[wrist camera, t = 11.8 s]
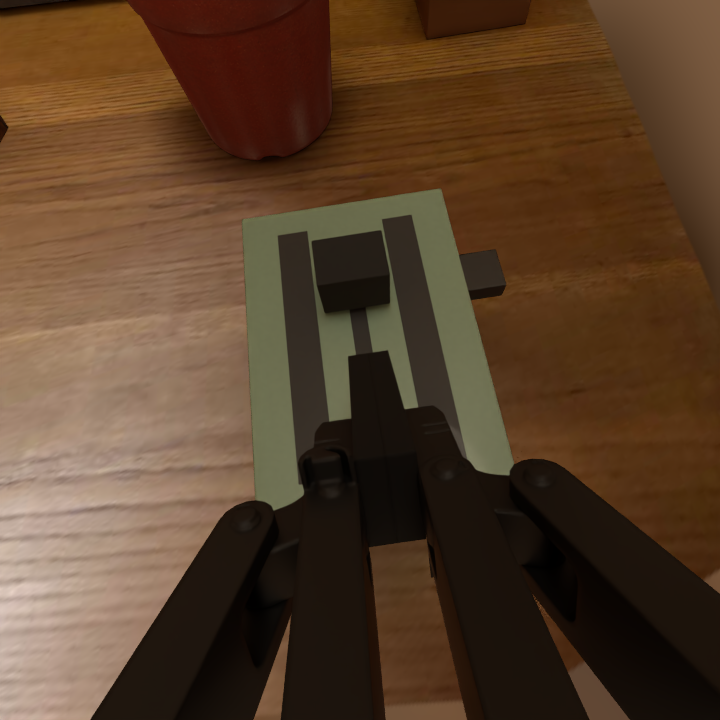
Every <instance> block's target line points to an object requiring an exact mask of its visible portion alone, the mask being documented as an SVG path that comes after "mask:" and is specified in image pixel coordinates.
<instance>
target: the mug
mask: <svg viewBox="0 0 720 720" xmlns="http://www.w3.org/2000/svg"><path fill="white" fill-rule="evenodd" d="M7 128H8V126H7V125H6V123H5V122H4V120H3V119H2V117H1V116H0V141H1V139H2V138H3V136H4V134H5V132H6V130H7Z"/></svg>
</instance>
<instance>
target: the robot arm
mask: <svg viewBox="0 0 720 720" xmlns="http://www.w3.org/2000/svg"><path fill="white" fill-rule="evenodd" d="M348 368H349V386H350V404H351V418H350V419H343V420H336V421H330V422H323V423H322V424H321V425H320V426H319V428H318V429H317V430H316V432H315V438H314V447H313V448H311V449H309V450H307V451H306V452H305V453H304V454H303V455H302V456H301V457H300V459H299V461H298V468H299V472H300V476H301V480H302V485H303V489H304V495H303V496H302V497H301V498H299V499H298V500H296V501H295V502H293V503H291V504H289V505H287V506H284V507H282V508H279V509H276V510H274V511H273V508H272V506H271V505H269V504H268V503H267V502H263V501H258V500H256V501H247V502H244V503H241V504H239V505H236V506H235V507H233V508H231V509H230V510H228V511H227V512H226V513H225V514H224V515H223V516H222V517H221V518H220V520H219V521H218V523H217V524H216V526H215V528H214V529H213V531H212V532H211V534H210V535H209V537H208V538H207V540H206V541H205V543H204V545H203V546H202V548H201V549H200V551H199V552H198V554H197V555H196V557H195V558H194V560H193V562H192V563H191V565H190V566H189V568H188V569H187V571H186V572H185V574H184V576H183V577H182V579H181V580H180V582H179V583H178V585H177V586H176V588H175V589H174V591H173V593H172V594H171V596H170V597H169V599H168V600H167V602H166V603H165V605H164V607H163V608H162V610H161V611H160V613H159V614H158V616H157V617H156V619H155V620H154V622H153V624H152V625H151V627H150V628H149V630H148V631H147V633H146V634H145V636H144V637H143V639H142V641H141V642H140V644H139V645H138V647H137V648H136V650H135V651H134V653H133V655H132V656H131V658H130V659H129V661H128V662H127V664H126V665H125V667H124V668H123V670H122V672H121V673H120V675H119V676H118V678H117V679H116V681H115V682H114V684H113V686H112V687H111V689H110V690H109V692H108V693H107V695H106V696H105V698H104V699H103V701H102V703H101V704H100V706H99V707H98V709H97V710H96V712H95V713H94V715H93V716H92V718H91V720H253V719H254V716H255V714H256V711H257V708H258V705H259V702H260V700H261V697H262V694H263V691H264V688H265V686H266V683H267V680H268V677H269V674H270V672H271V669H272V666H273V663H274V660H275V658H276V655H277V652H278V649H279V647H280V644H281V641H282V638H283V635H284V633H285V630H286V627H287V624H288V621H289V619H290V616H291V624H290V634H289V644H288V653H287V663H286V673H285V683H284V693H283V703H282V713H281V720H386V719H385V708H384V697H383V686H382V675H381V663H380V652H379V641H378V630H377V619H376V608H375V597H374V585H373V574H372V563H371V558H370V552H369V547H373V546H380V545H387V544H394V543H401V542H408V541H415V540H422V539H426V537H427V544H428V553H429V562H430V571H431V578H432V577H434V580H435V584H436V588H437V593H438V597H439V601H440V606H441V610H442V614H443V618H444V623H445V627H446V631H447V636H448V640H449V644H450V648H451V653H452V657H453V661H454V666H455V670H456V674H457V678H458V683H459V687H460V691H461V696H462V700H463V704H464V708H465V712H466V717H467V720H589V718H588V716H587V713H586V711H585V709H584V707H583V705H582V702H581V700H580V698H579V696H578V694H577V691H576V689H575V687H574V685H573V683H572V680H571V678H570V676H569V674H568V672H567V669H566V667H565V665H564V663H563V661H562V658H561V656H560V654H559V652H558V650H557V648H556V645H555V643H554V641H553V639H552V637H551V634H550V632H549V630H548V628H547V626H546V623H545V621H544V619H543V617H542V615H541V612H540V610H539V608H538V606H537V604H536V602H535V599H534V597H533V595H534V596H535V597H536V599H537V600H538V601H539V603H540V604H541V605H542V606H543V608H544V609H545V610H546V612H547V613H548V614H549V616H550V617H551V618H552V619H553V621H554V622H555V623H556V625H557V626H558V627H559V628H560V630H561V631H562V632H563V634H564V635H565V636H566V637H567V639H568V640H569V641H570V643H571V644H572V645H573V647H574V648H575V649H576V650H577V652H578V653H579V654H580V656H581V657H582V658H583V659H584V661H585V662H586V663H587V665H588V666H589V667H590V669H591V670H592V671H593V672H594V674H595V675H596V676H597V678H598V679H599V680H600V681H601V683H602V684H603V685H604V687H605V688H606V689H607V691H608V692H609V693H610V694H611V696H612V697H613V698H614V700H615V701H616V702H617V703H618V705H619V706H620V707H621V709H622V710H623V711H624V713H625V714H626V715H627V716H628V718H629V719H630V720H720V594H719V593H718V592H717V591H715V590H714V589H713V588H712V587H711V586H709V585H708V584H707V583H706V582H704V581H703V580H702V579H701V578H700V577H698V576H697V575H696V574H695V573H693V572H692V571H691V570H690V569H688V568H687V567H686V566H685V565H683V564H682V563H681V562H680V561H679V560H677V559H676V558H675V557H674V556H672V555H671V554H670V553H669V552H667V551H666V550H665V549H664V548H662V547H661V546H660V545H659V544H658V543H656V542H655V541H654V540H653V539H651V538H650V537H649V536H648V535H646V534H645V533H644V532H643V531H641V530H640V529H639V528H638V527H637V526H635V525H634V524H633V523H632V522H630V521H629V520H628V519H627V518H625V517H624V516H623V515H622V514H620V513H619V512H618V511H617V510H616V509H614V508H613V507H612V506H611V505H609V504H608V503H607V502H606V501H604V500H603V499H602V498H601V497H599V496H598V495H597V494H596V493H595V492H593V491H592V490H591V489H590V488H588V487H587V486H586V485H585V484H583V483H582V482H581V481H580V480H578V479H577V478H576V477H575V476H574V475H572V474H571V473H570V472H569V471H567V470H566V469H565V468H563V467H562V466H560V465H558V464H557V463H554V462H551V461H548V460H544V459H528V460H523V461H520V462H518V463H516V464H514V465H513V467H512V468H511V469H510V472H509V475H497V474H489V473H484V472H481V471H478V470H476V469H475V468H474V466H473V465H472V463H471V462H470V461H469V460H467V459H465V458H463V456H462V454H461V452H460V449H459V447H458V445H457V442H456V440H455V438H454V436H453V433H452V431H451V429H450V427H449V424H448V423H447V420H446V417H445V415H444V413H443V412H442V411H441V410H439V409H438V408H436V407H435V406H434V405H431V406H424V407H417V408H410V409H404V405H403V402H402V398H401V395H400V391H399V388H398V384H397V380H396V377H395V373H394V370H393V366H392V363H391V359H390V356H389V352H388V350H386V351H379V352H372V353H365V354H359V355H352V356H348ZM425 533H426V534H425ZM531 592H532V593H531ZM532 594H533V595H532ZM291 613H292V614H291Z"/></svg>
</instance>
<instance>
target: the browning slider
mask: <svg viewBox="0 0 720 720" xmlns="http://www.w3.org/2000/svg"><path fill="white" fill-rule="evenodd" d="M311 243H312V251H313V260H314V268H315V277H316V285H317V289H318V292H319V295H320V299H321V302H322V306H323V309H324V312H325V313H331V312H338V311H344V310H351V309H357V308H364V307H370V306H377V305H383V304H389V303H390V272H389V267H388V261H387V256H386V251H385V246H384V241H383V235H382V231H381V230H377V231H371V232H365V233H358V234H352V235H345V236H339V237H333V238H326V239H320V240H313V241H312V242H311Z"/></svg>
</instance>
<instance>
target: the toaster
mask: <svg viewBox="0 0 720 720" xmlns="http://www.w3.org/2000/svg"><path fill="white" fill-rule="evenodd" d="M377 230H381V231H382V235H383V241H384V246H385V251H386V256H387V261H388V267H389V272H390V303H389V304H383V305H377V306H370V307H364V308H357V309H351V310H344V311H338V312H331V313H325V312H324V309H323V306H322V302H321V299H320V295H319V292H318V289H317V285H316V277H315V268H314V260H313V251H312V243H311V242H312V241H313V240H320V239H326V238H333V237H339V236H345V235H352V234H358V233H365V232H371V231H377ZM242 233H243V254H244V274H245V295H246V316H247V336H248V357H249V378H250V398H251V419H252V440H253V460H254V481H255V501H256V500H258V501H263V502H267V503H268V504H269V505H271V506H272V508H273V511H274V510H276V509H279V508H282V507H284V506H287V505H289V504H291V503H293V502H295V501H296V500H298V499H299V498H301V497H302V496H303V495H304V489H303V485H302V480H301V476H300V472H299V468H298V461H299V459H300V457H301V456H302V455H303V454H304V453H305V452H306V451H307V450H309V449H311V448H313V447H314V438H315V432H316V430H317V429H318V428H319V426H320V425H321V424H322V423H323V422H330V421H336V420H343V419H350V418H351V404H350V386H349V368H348V356H352V355H359V354H365V353H372V352H379V351H386V350H388V352H389V356H390V359H391V363H392V366H393V370H394V373H395V377H396V380H397V384H398V388H399V391H400V395H401V398H402V402H403V405H404V409H410V408H417V407H424V406H431V405H434V406H435V407H436V408H438V409H439V410H441V411H442V412H443V413H444V415H445V417H446V420H447V423H448V424H449V427H450V429H451V431H452V433H453V436H454V438H455V440H456V442H457V445H458V447H459V449H460V452H461V454H462V456H463V458H465V459H467V460H469V461H470V462H471V463H472V465H473V466H474V468H475V469H476V470H478V471H481V472H484V473H489V474H497V475H509V472H510V469H511V468H512V467H513V465H514V461H513V457H512V453H511V450H510V446H509V442H508V438H507V435H506V431H505V427H504V423H503V420H502V416H501V412H500V408H499V405H498V401H497V397H496V393H495V390H494V386H493V382H492V378H491V375H490V371H489V367H488V363H487V359H486V356H485V352H484V348H483V344H482V341H481V337H480V333H479V329H478V326H477V322H476V318H475V314H474V311H473V307H472V303H471V300H474V299H481V298H487V297H494V296H500V295H502V293H503V291H504V289H505V286H506V282H505V279H504V275H503V272H502V269H501V266H500V262H499V259H498V256H497V252H496V250H495V249H494V250H488V251H481V252H475V253H469V254H462V255H459V254H458V251H457V247H456V243H455V239H454V236H453V232H452V228H451V224H450V221H449V217H448V213H447V209H446V206H445V202H444V198H443V194H442V190H441V189H434V190H427V191H421V192H415V193H408V194H402V195H396V196H389V197H383V198H376V199H370V200H364V201H357V202H351V203H345V204H338V205H332V206H325V207H319V208H313V209H306V210H300V211H294V212H287V213H281V214H274V215H268V216H262V217H255V218H249V219H243V220H242Z"/></svg>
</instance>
